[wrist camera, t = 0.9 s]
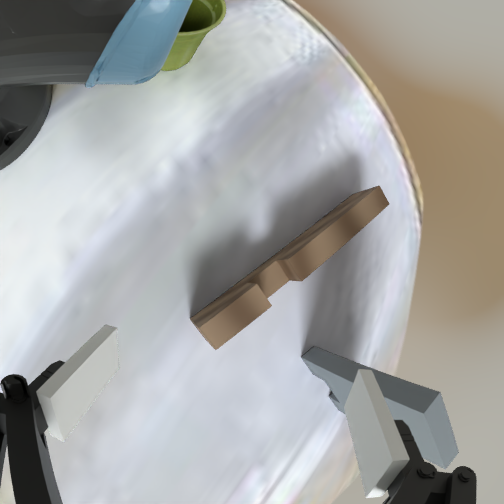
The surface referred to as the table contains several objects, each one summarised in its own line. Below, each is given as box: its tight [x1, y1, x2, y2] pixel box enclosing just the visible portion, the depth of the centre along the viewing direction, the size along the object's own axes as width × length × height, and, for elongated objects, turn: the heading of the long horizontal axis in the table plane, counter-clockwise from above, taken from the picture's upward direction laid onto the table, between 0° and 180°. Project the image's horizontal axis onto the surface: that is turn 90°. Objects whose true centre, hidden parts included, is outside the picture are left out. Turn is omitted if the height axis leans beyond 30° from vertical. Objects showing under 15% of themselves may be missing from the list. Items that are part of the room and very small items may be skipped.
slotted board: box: [190, 186, 389, 350], centre depth 31 cm, size 24×2×5 cm, turn 125°
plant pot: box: [161, 0, 226, 71], centre depth 26 cm, size 9×9×9 cm
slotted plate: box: [301, 346, 459, 469], centre depth 26 cm, size 10×2×18 cm, turn 35°
